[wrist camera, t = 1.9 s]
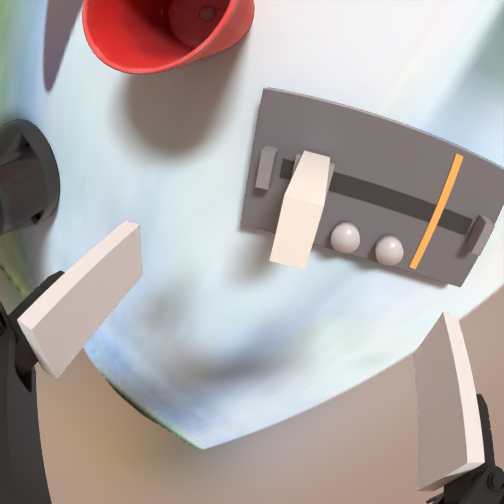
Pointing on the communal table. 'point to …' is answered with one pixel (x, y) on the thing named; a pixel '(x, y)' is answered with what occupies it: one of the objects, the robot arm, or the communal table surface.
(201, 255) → the communal table surface
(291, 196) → the fader tab
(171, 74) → the communal table surface
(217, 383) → the communal table surface
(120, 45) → the flower pot
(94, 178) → the communal table surface
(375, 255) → the console
